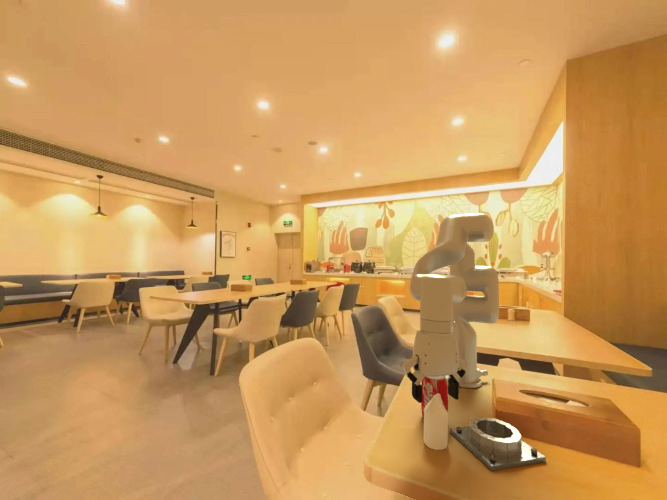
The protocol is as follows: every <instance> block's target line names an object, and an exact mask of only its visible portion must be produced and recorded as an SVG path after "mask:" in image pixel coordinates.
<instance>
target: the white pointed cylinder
mask: <svg viewBox="0 0 667 500" xmlns="http://www.w3.org/2000/svg"><path fill="white" fill-rule="evenodd" d="M449 419H450V418H449V412H448V413H447V411H446V410H445V408H444V406H443V403H442V399H441V395H440V394H439V393H437V394H436V395H434V396H433V397H432V399H431V400H430V401H429V403H428V404H427V405H426V406H425V408H424V417H423V443H424V445H426V446H427V447H428V448H429V449H432V450H435V451H442V450H444V449H447V448H448V443H449Z"/></svg>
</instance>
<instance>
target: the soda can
mask: <svg viewBox="0 0 667 500" xmlns="http://www.w3.org/2000/svg"><path fill="white" fill-rule="evenodd" d="M445 378H446V376H428V377H427V376H425V377H424V379H423V380H422V382H421V385H422V402H421V403H420V404H421V405H420V407H421V416H422V417H423V418H424V408H425V406H426V405H427V404H428V403H429V401H430V400H431V399H432V397H433V396H434V395H436V394H437V393H439V394H440V395H441V399H442V403H443V406H444V408H445V410H446V411H447V413H448V414H449V394H448V382H447V380H446V379H445Z"/></svg>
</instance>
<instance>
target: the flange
mask: <svg viewBox="0 0 667 500" xmlns="http://www.w3.org/2000/svg"><path fill="white" fill-rule="evenodd" d="M468 424H469V425H468V426H461V427H460V426H456V427H453V428H450V429H449V433H450V435H452V436H453V437H454V438H455V439H457V441H458V442H459V443H461V444H462V446H464V447H465V448H466V449H467V450H468V451H469V452H470V453H471V454H472V455H474V456H475V458H477V460H479V461H480V462H481V463H482V464H484V465H485V466H486V467H487V468H488V469H489V470H490V471H491V472H495V471H500V470H507V469H511V468H517V467H524V466H529V465H535V464H539V463H545V462H547V457H546V456H545V455H544V454H542V453H541V452H539V451H538V450H537V449H536V448H534V447H532V446H531V445H530V444H528V443H526V442H525V441H523V440H522V435H521V433H520V430H518V429H517V428H516V427H514V426H513V425H511V424H510V423H508V422H506V421H503V420H500V419H498V418H494V417H488V416H480V417H478V416H477V417H473V418H472V419H471V420H469V423H468Z"/></svg>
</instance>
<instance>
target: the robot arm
mask: <svg viewBox="0 0 667 500" xmlns="http://www.w3.org/2000/svg"><path fill="white" fill-rule="evenodd" d="M494 230H495V228H494V223H493V221H492V219H491V217H490V216H489V215H488V214H486V213H480V212H479V213H478V212H477V213H462V214H451V215H449V216H446V217H445V218H443V220H442V221H441V223H440V224H439V231H438V236H437V239H436V244H435V247H433V248H431V249H429V250H428V251H427V252H426V253H425V254H423V255H422V256H421V257H419V259H418V260H417V261H416V263H415V265H414V267H413V272H412V274H411V279H410V283H409V292H410V296H411V297H412V298H413V299H415V301H419V302H420V303H419V304H420V307H419V308H420V309H419V311H420V313H419V320H420V321H419V329H418V330H416V333H415V337H414V342H413V349H412V357H411V358H410V359H408V360H407V361H405V362H403V363H402V364H401V368H402V369H403V372H404V374H405V376H406V377H407V378H408V379H409V380H410V381H411V396H412V398H413V399H414V400H415V401H416V402H418V403H419V404H421V402H422V380H423V379H424V377H425V376H427V377H428V376H446V378H445V379H446V380H447V382H448V396H450V397H452V398H453V399H454V400H458V401H459V399H460V398H459V397H460V396H459V394H460V388H467V389H476V388H479V387H481V386H482V384H483V383H482V379H481V377H485V376H486V377H487V376H488V375H489V372H488V370H486V369H482V370H480V368H478V365H477V363H478V359H477V358H478V354H477V353H478V352H477V351H478V343H477V341H478V338H477V337H478V336H477V332H476V330H475V329H474V327H473V326H472V325H471V324H470V323H479V324H490V325H492V324H496V323H497V322H498V320H499V317H500V287H499V286H500V285H499V284H500V283H499V275H498V271H497V270H496V268H494V267H492V266H487V265H476V262H475V261H476V260H475V255H476V253H475V250H474V249H473V248H472V246H471V245H470V244H469V243H479V242H480V243H481V242H482V243H483V242H484V243H485V242H486V243H487V242H490V241H491V240H492V239H493V237H494ZM448 266H449V274H435V273H432V272H434V271H436V270H439V269H442V268H443V269H444V268H445V267H448ZM467 292H469V293H470V292H471V293H481V294H483V295H471V294H467ZM411 369H413V370H414V371H413V372H412V370H411Z"/></svg>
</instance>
